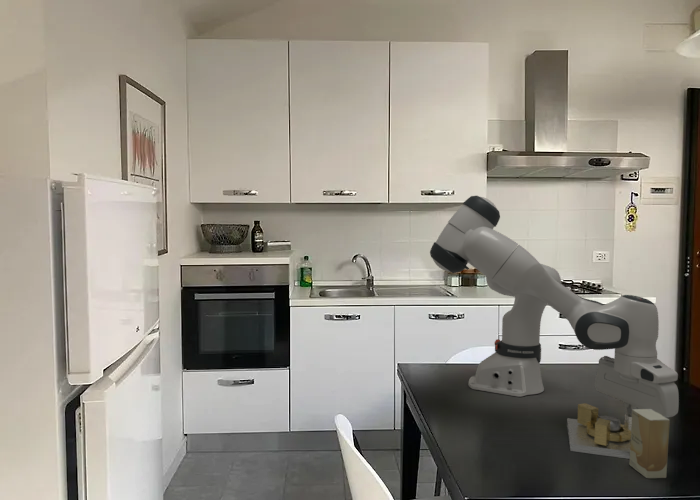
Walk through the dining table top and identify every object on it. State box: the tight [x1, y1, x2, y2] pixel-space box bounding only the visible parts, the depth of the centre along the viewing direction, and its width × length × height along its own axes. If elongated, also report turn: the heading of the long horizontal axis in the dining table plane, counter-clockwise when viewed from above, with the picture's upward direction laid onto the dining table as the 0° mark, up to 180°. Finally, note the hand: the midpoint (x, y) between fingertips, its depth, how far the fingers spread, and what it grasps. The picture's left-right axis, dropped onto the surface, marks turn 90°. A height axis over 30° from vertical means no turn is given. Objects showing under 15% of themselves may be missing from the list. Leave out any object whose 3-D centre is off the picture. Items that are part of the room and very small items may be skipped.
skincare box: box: [629, 409, 671, 479], centre depth 111 cm, size 6×4×12 cm
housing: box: [566, 415, 631, 460], centre depth 126 cm, size 17×17×5 cm
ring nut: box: [577, 402, 632, 446], centre depth 127 cm, size 14×15×4 cm
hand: (632, 422), depth 128 cm, fingers closed
